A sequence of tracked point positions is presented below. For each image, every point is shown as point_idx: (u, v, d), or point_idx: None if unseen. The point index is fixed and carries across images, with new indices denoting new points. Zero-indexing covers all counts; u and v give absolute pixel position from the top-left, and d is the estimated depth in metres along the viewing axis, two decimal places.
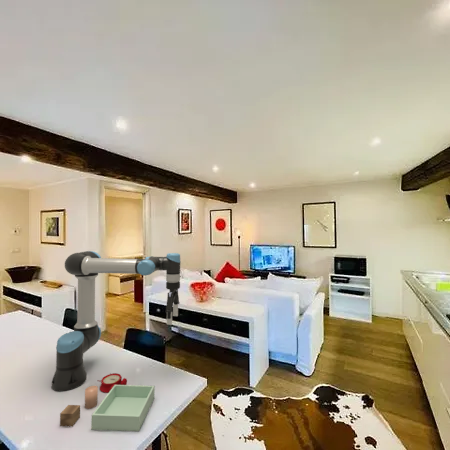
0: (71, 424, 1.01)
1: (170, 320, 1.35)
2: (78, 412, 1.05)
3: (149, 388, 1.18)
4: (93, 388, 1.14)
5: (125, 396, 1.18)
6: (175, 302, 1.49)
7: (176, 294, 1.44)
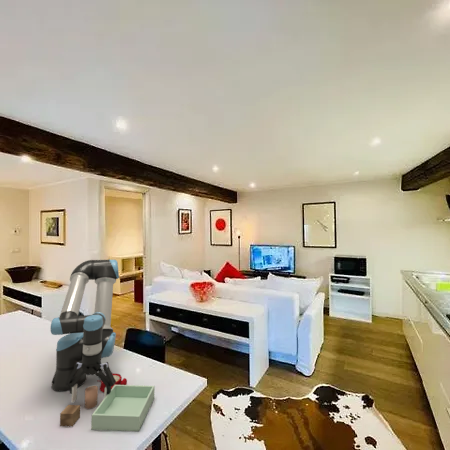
0: (71, 424, 1.01)
1: None
2: (78, 412, 1.05)
3: (149, 388, 1.18)
4: (93, 388, 1.14)
5: (125, 396, 1.18)
6: None
7: (92, 371, 1.12)
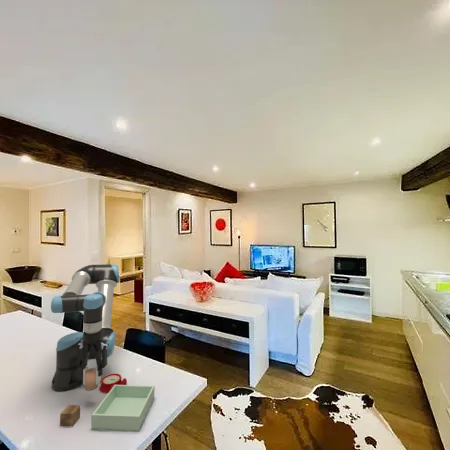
0: (71, 424, 1.01)
1: None
2: (78, 412, 1.05)
3: (149, 388, 1.18)
4: (93, 370, 1.15)
5: (125, 396, 1.18)
6: None
7: (92, 349, 1.13)
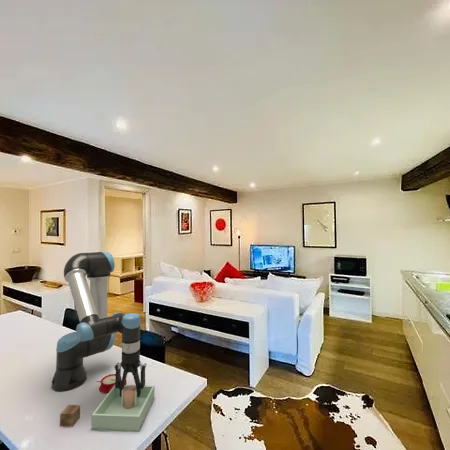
0: (71, 424, 1.01)
1: None
2: (78, 412, 1.05)
3: (149, 388, 1.18)
4: (131, 387, 1.14)
5: None
6: None
7: (131, 369, 1.12)
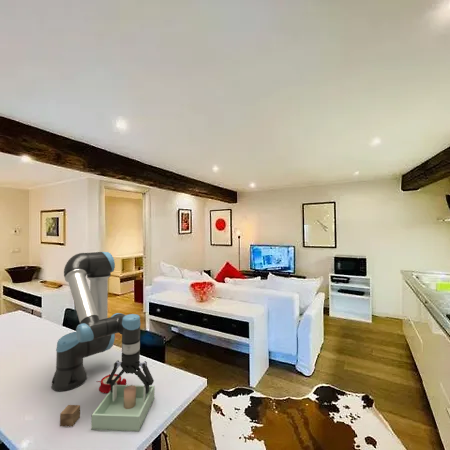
0: (71, 424, 1.01)
1: None
2: (78, 412, 1.05)
3: (149, 388, 1.18)
4: (131, 387, 1.14)
5: None
6: None
7: (132, 370, 1.12)
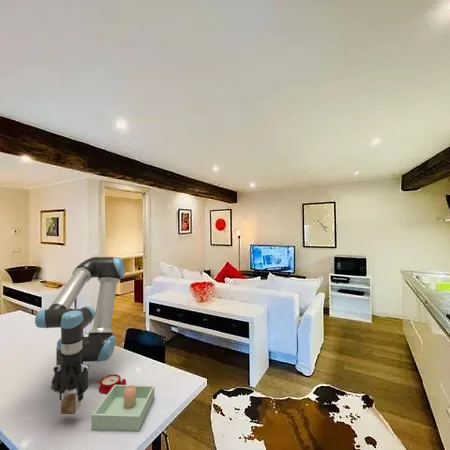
0: (72, 412, 1.02)
1: None
2: None
3: (149, 388, 1.18)
4: (131, 387, 1.14)
5: None
6: None
7: (71, 371, 1.03)
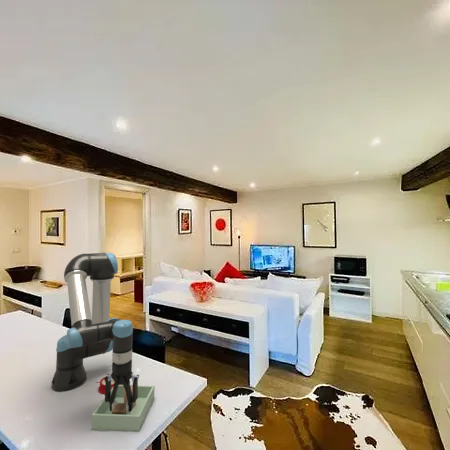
0: None
1: None
2: None
3: (149, 388, 1.18)
4: (131, 387, 1.14)
5: None
6: None
7: (122, 381, 1.03)
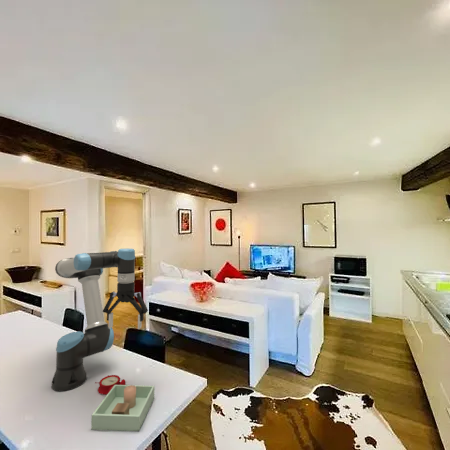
0: None
1: None
2: (128, 410, 1.05)
3: (149, 388, 1.18)
4: (131, 387, 1.14)
5: None
6: None
7: (127, 299, 1.19)
